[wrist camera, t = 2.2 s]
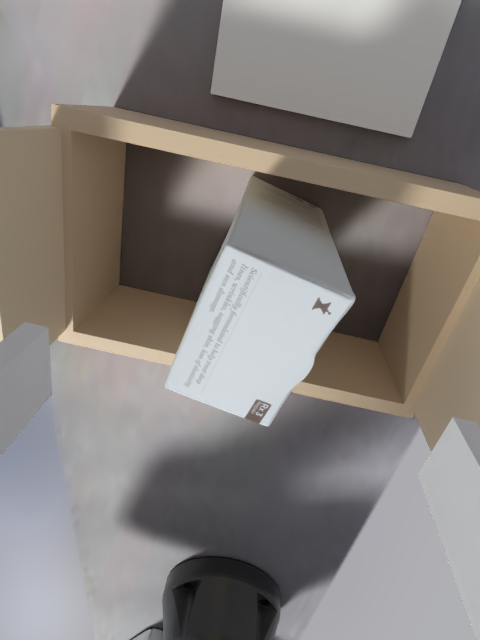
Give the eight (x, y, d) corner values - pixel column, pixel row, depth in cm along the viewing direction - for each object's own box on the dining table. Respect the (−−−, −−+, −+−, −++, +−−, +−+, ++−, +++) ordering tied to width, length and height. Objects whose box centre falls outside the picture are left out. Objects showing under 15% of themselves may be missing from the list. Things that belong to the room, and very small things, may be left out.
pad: (407, 137, 26) (411, 138, 25) (212, 94, 25) (210, 93, 25) (481, -67, 21) (488, -73, 20) (242, -120, 21) (240, -128, 20)
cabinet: (386, 354, 33) (447, 497, 21) (105, 292, 33) (-2, 398, 21) (462, 184, 26) (618, 244, 14) (111, 106, 26) (-40, 98, 14)
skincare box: (251, 173, 28) (222, 226, 14) (327, 210, 28) (366, 293, 15) (207, 274, 31) (153, 389, 18) (275, 305, 32) (270, 437, 19)
